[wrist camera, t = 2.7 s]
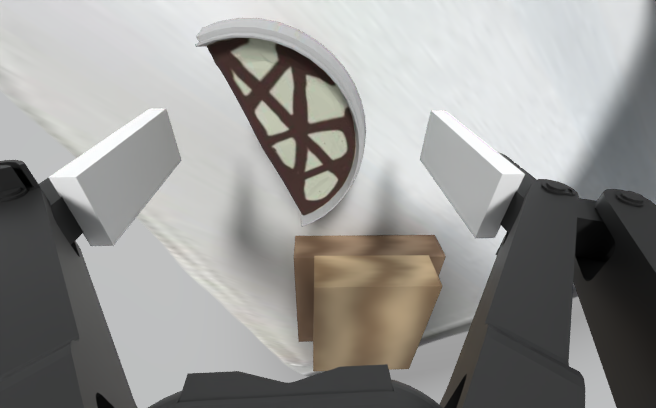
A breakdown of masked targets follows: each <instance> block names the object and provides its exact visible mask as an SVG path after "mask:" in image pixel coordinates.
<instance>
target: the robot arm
mask: <svg viewBox="0 0 656 408" xmlns="http://www.w3.org/2000/svg"><path fill="white" fill-rule="evenodd" d="M420 160H421V162H422V163H423V165H424V166H425V167H426V169H427V170H428V172H429V173H430V175H431V176H432V177H433V179H434V180H435V182H436V183H437V185H438V186H439V187H440V189H441V190H442V192H443V193H444V194H445V196H446V197H447V199H448V200H449V202H450V203H451V204H452V206H453V207H454V209H455V210H456V212H457V213H458V214H459V216H460V217H461V219H462V220H463V221H464V223H465V224H466V226H467V227H468V229H469V230H470V231H471V233H472V234H473V236H474V237H475V238H495V236H496V234H497V232H498V230H499V228H500V226H501V225H502V226H503V228H504V229H505V230H506V231H507V233H506V235H505V237H504V239H503V241H502V243H501V245H500V247H499V249H498V251H497V253H496V255H497V257H496V260H495V263H494V265H493V268H492V271H491V273H490V276H489V279H488V281H487V284H486V287H485V289H484V292H483V294H482V297H481V300H480V302H479V305H478V308H477V310H476V313H475V316H474V318H473V321H472V324H471V326H470V329H469V332H468V335H467V337H466V340H465V342H464V345H463V348H462V350H461V353H460V356H459V358H458V361H457V364H456V366H455V369H454V372H453V374H452V377H451V379H450V382H449V385H448V387H447V390H446V392H445V394H444V396H443V398H442V400H441V403H440V405H439V404H438V403H436V402H435V401H434V400H433V399H431V398H430V397H428V396H427V395H425V394H424V393H422V392H421V391H418V390H417V389H415V388H413V387H411V386H409V385H406V384H404V383H401V382H398V381H395V380H391V378H390V373H389V369H388V364H385V365H363V366H342V367H337V368H334V369H331V370H328V371H325V372H323V373H320V374H317V375H314V376H311V377H308V378H305V379H302V380H299V381H296V382H292V383H284V382H280V381H276V380H271V379H267V378H264V377H259V376H255V375H251V374H247V373H243V372H239V371H238V372H237V371H236V372H215V373H193V374H188V375H187V378H186V381H185V384H184V387H183V390H182V391H180V392H177V393H175V394H173V395H171V396H168V397H166V398H164V399H162V400H160V401H159V402H157V403H155V404H153V405H152V406H150V407H148V408H585V384H584V378H583V376H582V375H581V373H580V372H579V371H577V370H575V369H573V368H571V367H569V363H568V359H569V343H570V327H571V309H572V294H573V282H574V285H575V288H576V291H577V294H578V297H579V299H580V302H581V305H582V308H583V311H584V314H585V317H586V320H587V323H588V325H589V328H590V331H591V334H592V337H593V340H594V343H595V346H596V349H597V352H598V354H599V357H600V360H601V363H602V366H603V369H604V372H605V375H606V378H607V380H608V384H609V386H610V389H611V392H612V395H613V398H614V401H615V404H616V407H617V408H656V205H655V204H654V203H653V202H651V201H650V200H648V199H646V198H644V197H643V196H642V195H640V194H636V193H635V192H631V191H623V190H617V189H608V190H605V191H604V192H603V193H602V195H601V196H600V198H599V199H598V201H593V200H587V199H580V198H578V194H577V192H576V191H575V190H574V189H572V188H571V187H569V186H567V185H565V184H562V183H560V182H557V181H552V180H547V179H538V180H536V179H535V178H534V177H533V176H531V175H530V174H529V173H527V172H526V171H525V170H524V169H522V168H520V166H519V165H517V164H516V163H514V162H513V161H512V160H511V159H510V158H508V157H507V156H506V155H503V154H501V153H499V152H497V151H496V150H494V149H493V148H492V147H491V146H489V145H488V144H487V143H486V142H484V141H483V140H482V139H481V138H479V137H478V136H477V135H476V134H474V133H473V132H472V131H471V130H469V129H468V128H467V127H466V126H464V125H463V124H462V123H461V122H459V121H458V120H457V119H456V118H454V117H453V116H452V115H451V114H449V113H448V112H447V111H446V110H431V112H430V117H429V121H428V125H427V130H426V134H425V139H424V143H423V147H422V152H421V156H420ZM180 161H181V157H180V153H179V150H178V147H177V143H176V140H175V137H174V133H173V130H172V127H171V123H170V120H169V116H168V113H167V110H166V109H148V110H147V111H145V112H144V113H142V114H141V115H139V116H138V117H137V118H135V119H134V120H132V121H131V122H129V123H128V124H126V125H125V126H123V127H122V128H120V129H119V130H117V131H116V132H115V133H113V134H112V135H110V136H109V137H107V138H106V139H104V140H103V141H101V142H100V143H98V144H97V145H95V146H94V147H92V148H91V149H90V150H88V151H87V152H85V153H84V154H82V155H81V156H79V157H78V158H76V159H75V160H74V161H72V162H70V163H69V164H67V165H66V166H65V167H63V168H62V169H60V170H59V171H57V172H56V173H54V174H53V175H51V176H50V177H49V178H47V179H46V180H44V181H43V182H41V183H40V184H38V183H37V182H36V180H35V178H34V177H33V175H32V174H31V172H30V171H29V169H28V168H27V166H26V165H25V163H24V162H22V161H18V160H5V161H0V408H137V406H136V404H135V401H134V399H133V396H132V393H131V390H130V388H129V385H128V382H127V379H126V376H125V374H124V371H123V368H122V365H121V363H120V359H119V357H118V354H117V351H116V348H115V345H114V342H113V340H112V337H111V334H110V331H109V328H108V326H107V323H106V320H105V317H104V314H103V311H102V309H101V306H100V303H99V300H98V297H97V295H96V292H95V289H94V286H93V283H92V281H91V278H90V275H89V272H88V269H87V267H86V263H85V261H84V258H83V255H82V252H81V249H80V248H79V246H78V245H77V243H76V241H75V240H76V239H77V238H78V237H79V236H80V235H81V234H82V233H83V234H84V236H85V237H86V239H87V241H88V242H89V244H90V246H114V244H115V243H116V242H117V241H118V239H119V238H120V237H121V236H122V234H123V233H124V232H125V231H126V229H127V228H128V227H129V225H130V224H131V223H132V222H133V220H134V219H135V218H136V217H137V216H138V214H139V213H140V212H141V211H142V209H143V208H144V207H145V205H146V204H147V203H148V202H149V200H150V199H151V198H152V197H153V195H154V194H155V193H156V192H157V190H158V189H159V188H160V187H161V185H162V184H163V183H164V182H165V180H166V179H167V178H168V177H169V175H170V174H171V173H172V171H173V170H174V169H175V168H176V166H177V165H178V164H179V163H180Z"/></svg>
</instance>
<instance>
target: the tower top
mask: <svg viewBox="0 0 656 408" xmlns="http://www.w3.org/2000/svg"><path fill="white" fill-rule="evenodd" d="M441 289H442V284H441V282H440V279H439V277H438V275H437V273H436V271H435V268H434V266H433V264H432V262H431V259H430V257H429V255H382V256H314V332H313V371H328V370H331V369H334V368H337V367H342V366H363V365H385V364H388V369H409V367H410V364H411V362H412V360H413V357H414V355H415V353H416V350H417V348H418V345H419V343H420V340H421V338H422V335H423V333H424V330H425V328H426V326H427V323H428V321H429V318H430V316H431V313H432V311H433V308H434V306H435V303H436V301H437V299H438V296H439V294H440V291H441Z"/></svg>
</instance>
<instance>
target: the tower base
mask: <svg viewBox="0 0 656 408" xmlns="http://www.w3.org/2000/svg"><path fill="white" fill-rule="evenodd" d="M382 255H429V257H430V259H431V262H432V264H433V266H434V268H435V271H436V273H437V275H438V276H439V273H440V271H441V268H442V265H443V262H444V260H445V257H446V256H445V254H444V252H443V250H442V248H441V246H440V244H439V242H438V241H437V239H436V237H435V235H377V236H295V249H294V270H295V287H296V304H297V321H298V337H299V342H304V341H313V332H314V256H382Z"/></svg>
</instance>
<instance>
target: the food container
mask: <svg viewBox="0 0 656 408" xmlns="http://www.w3.org/2000/svg"><path fill="white" fill-rule="evenodd" d="M196 37H197V39H198V41H199V43H197V44H195V46H196V47H198V46H207V48H208V50H209V52H210V53H211V55H212V57H213V59H214V61H215V63H216V65H217V66H218V67H219V69H220V70H221V72H222V74H223V75H224V77H225V78H226V80H227V82H228V84H229V86H230V87H231V89H232V91H233V93H234V95H235V96H236V98H237V100H238V102H239V104H240V106H241V108H242V109H243V111H244V113H245V115H246V117H247V119H248V121H249V123H250V125H251V127H252V129H253V131H254V133H255V135H256V136H257V138H258V140H259V142H260V144H261V146H262V148H263V150H264V151H265V153H266V155H267V156H268V158H269V159H270V161H271V162H272V164H273V165H274V167H275V169H276V170H277V172H278V173H279V175H280V177H281V178H282V180H283V182H284V183H285V185H286V187H287V189H288V190H289V192H290V194H291V196H292V197H293V199H294V201H295V203H296V204H297V206H298V208H299V210H300V211H301V226H302V227H303V226H305V225H308V224H310V223H312V222H314V221H316V220H318V219H319V218H321V217H323V216H324V215H326V214H327V213H328V212H329V211H331V210H332V209H333V208H334V207H335V206H336V205H337V204H338V203H339V202H340V201H341V200H342V199H343V197H344V196H345V195H346V193H347V192H348V190H349V189H350V187H351V186H352V184H353V183H354V180H355V178H356V176H357V174H358V172H359V169H360V165H361V162H362V158H363V153H364V146H365V136H366V125H365V114H364V110H363V105H362V101H361V98H360V96H359V93H358V91H357V88H356V86H355V84H354V82H353V80H352V79H351V77H350V75H349V74H348V72H347V71H346V69H345V67H344V66H343V65H342V64H341V63H340V62H339V60H338V59H337V58H336V57H335V56H334V55H333V54H332V53H331V52H330V51H329V50H328V49H327V48H325V47H324V46H323V45H322V44H321V43H319V42H318V41H317V40H316V39H314V38H312V37H310V36H309V35H307V34H305V33H304V32H302V31H300V30H298V29H296V28H293V27H291V26H288V25H285V24H283V23H280V22H275V21H270V20H265V19H260V18H236V19H230V20H225V21H219V22H216V23H214V24H211V25H209V26H206V27H203V28H202V29H201V31H200V32H199V33H198V35H197V36H196Z"/></svg>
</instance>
